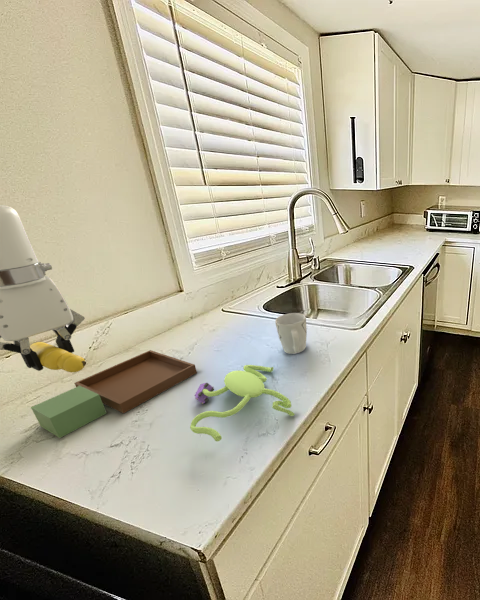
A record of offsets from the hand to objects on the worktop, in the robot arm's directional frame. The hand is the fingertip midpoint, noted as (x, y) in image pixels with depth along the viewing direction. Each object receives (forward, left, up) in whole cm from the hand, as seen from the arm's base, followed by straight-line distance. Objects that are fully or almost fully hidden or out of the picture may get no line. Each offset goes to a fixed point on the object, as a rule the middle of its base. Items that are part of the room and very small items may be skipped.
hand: (53, 361), depth 65 cm
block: (0, -1, -14) cm, 14 cm away
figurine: (+30, +17, -14) cm, 37 cm away
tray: (-2, +13, -14) cm, 19 cm away
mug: (+24, +41, -14) cm, 50 cm away
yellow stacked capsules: (0, 0, -1) cm, 1 cm away
